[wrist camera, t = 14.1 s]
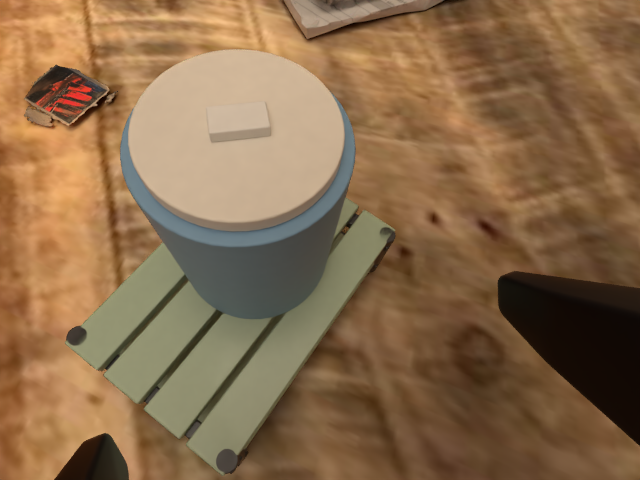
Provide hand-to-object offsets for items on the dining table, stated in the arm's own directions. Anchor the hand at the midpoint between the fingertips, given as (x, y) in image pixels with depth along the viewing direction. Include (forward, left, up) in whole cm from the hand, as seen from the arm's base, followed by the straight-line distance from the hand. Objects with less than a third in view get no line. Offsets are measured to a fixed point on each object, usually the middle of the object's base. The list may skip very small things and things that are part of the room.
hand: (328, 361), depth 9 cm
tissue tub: (+6, -4, -9) cm, 11 cm away
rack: (+5, -2, -13) cm, 14 cm away
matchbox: (+24, -6, -13) cm, 28 cm away
